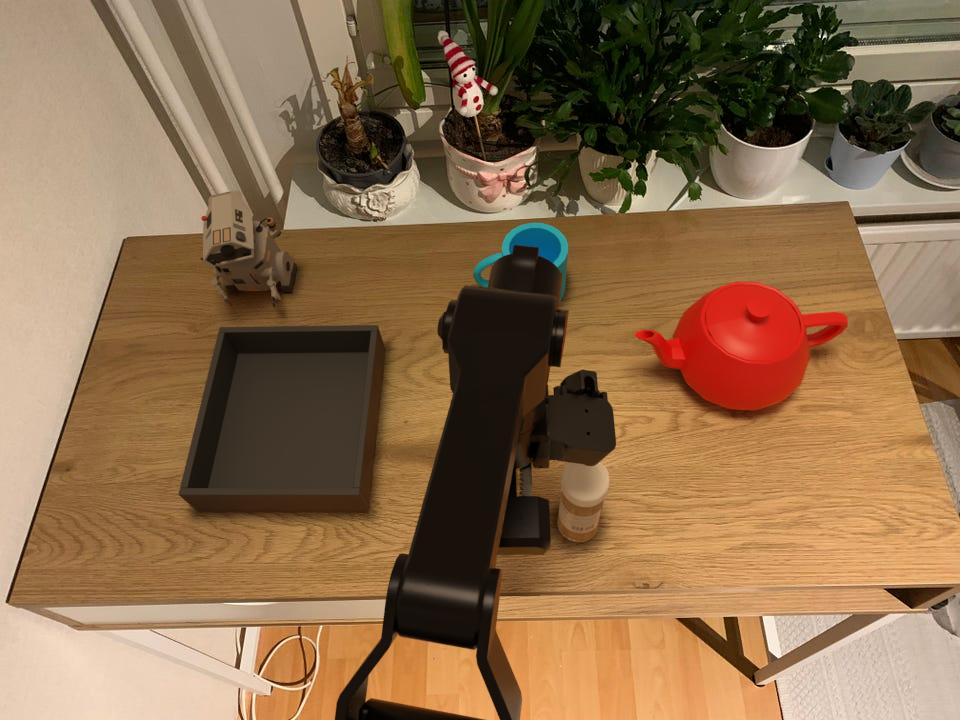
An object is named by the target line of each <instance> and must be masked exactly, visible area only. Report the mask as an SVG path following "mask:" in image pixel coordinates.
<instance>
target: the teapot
mask: <svg viewBox="0 0 960 720" xmlns="http://www.w3.org/2000/svg"><path fill="white" fill-rule="evenodd" d="M848 325H849V321H848V316H846V314H845V313H843V312H838V311H827V312H826V311H825V312H815V313H806V314H802V311H801V309H800V308H799V306H797V304H796V303H795V301H793V299H791V298H790V297H789V296H788V295H786V294H785V293H784V292H782V291H781V290H779V289H778V288H777V287H774V286H771V285H767V284H765V283H761V282H758V281H734V282H731V283H727V284H724V285H721V286H719V287H716V288H714V289H712V290H710V291H709V292H707V293H705V294H703V295H702V296H701V297H700V298H699V299H698V300H696V301H694V303H692V304H691V306H689V307H688V308H687V309H686V310H684V312H683V313H682V314H681V317H680V318H679V320H678V323H677V325H676V327H675V329H674V332H673V335H672V339H665V338H664V336H663V335H662V334H661V333H660V332H658V331H657V330H655V329H641V330H638V331H636V332H635V333H634V335H633V336H634V338H636V339H638V340H641V341H643V342H645V343H647V344H648V345H651V346H652V350H653V352H654V353H655V355H656V356H657V358H658V360H659V361H660V362H661V365H663V367H664V368H668V369H674V370H680V373H681V375H682V377H683V380H684V381H685V384H687V386H689V387H690V388H691V389H692V390H693V391H694V392H695V393H696V394H698V395H699V396H700V397H701V398H702V399H703V400H704V401H706V402H710V403H712V404H715V405H717V406H720V407H723V408H724V409H727V410H738V411H739V410H741V411H758V410H762V409H765V408H768V407H771V406H774V405H776V404H780V403H782V402H783V401H784V400H786V399H787V398H789V396H791V394H792V393H794V391H796V390H797V389H798V388H799V387H800V386H801V385H802V383H803V379H804V377H805V374H806V371H807V368H808V365H809V362H810V359H811V349H810V348H814V347H819V346H822V345H824V344H825V343H827V342H830V341H831V340H834V339H835V338H836V337H838V336H839V335H841V334H842V333H844V331H845V330H846V329H847V328H849V326H848ZM824 326H825V327H824ZM816 327H824V328H822V329H819V330H818V331H815V332H813V333H809V334H808V331H807V329H808V328H816Z"/></svg>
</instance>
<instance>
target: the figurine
mask: <svg viewBox="0 0 960 720" xmlns="http://www.w3.org/2000/svg"><path fill="white" fill-rule="evenodd" d="M242 196H243V195H242V191H240V190H229V191H225V192H221V193H217V194H212V195H210V196H209V197H208V201H207V205H208V207H207V210H206V213H205V215H202V216H201V221H202V222H203V223H202V257H200V260H201V261H202V262H203V263H205V264H206V265H208V266H209V267H210V268H213V276H214V278H212V280H211V282H210V284H211V285H212V286H214V287H215V289H216V290H217V293H218V294H219V296H220V297H221V298H222V299H223V300H224V301H225V302H226V303H228V304H229V305H230V307H233V304H232V303H231V301H230V300H229V298H228V296H229V295H228V294H227V293H226V291H227V292H237V290H238V291H245V292H262V291H269V290H270V295H271V296H270V297H271V300H272V302H271V303H272V306H273V307H275V306H276V305H275V304H276V303H277V301H281V299H282V298H281V295H280V292H279V291H278V289H277V287H276V286H277V284H278V283H279V282H280V287H281V290H282V292H283V293H284V292H285V293H289V292H290V293H292V292H293V288H294V283H295V282H294V281H295V278H296V274H297V269H298V265H297V263H296V262H294V260H293V258H292V257H291V255H290V254H289V253H288V252H287V251H282V250H281V249H280V246H278V244H277V243H276V241H275V239H276V238H278V237H280V236H281V235H282V231H281V229H280V228H279V227H278V225H277V223H276V222H275V220H274V219H273V218H272V217H267V218H264V219H261V221H259V220H253V211H252V210H251V208H249V206H248V205H247V204H246V203H245V201H244V200H243V199H242V198H243V197H242ZM263 222H265V223H266V225H267V226H266V227H265V226H264V225H263V224H262V223H263ZM220 278H221V279H222V280H223V282H224V286H225V289H226V291H225V290H224V288H223V287H222V282H221V281H220Z"/></svg>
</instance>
